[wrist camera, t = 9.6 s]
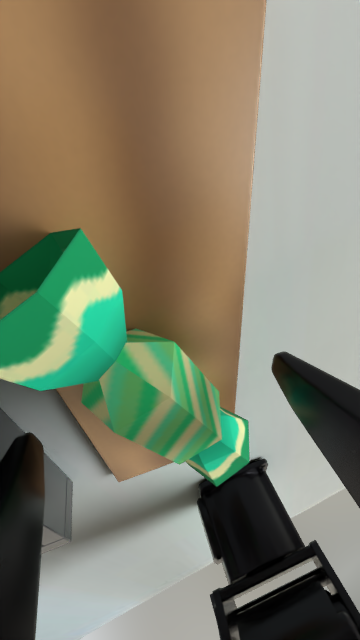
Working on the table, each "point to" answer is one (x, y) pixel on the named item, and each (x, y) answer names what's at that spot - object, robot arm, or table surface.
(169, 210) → the brown wooden board
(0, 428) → the dark grey tray
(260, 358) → the table surface
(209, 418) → the candy
